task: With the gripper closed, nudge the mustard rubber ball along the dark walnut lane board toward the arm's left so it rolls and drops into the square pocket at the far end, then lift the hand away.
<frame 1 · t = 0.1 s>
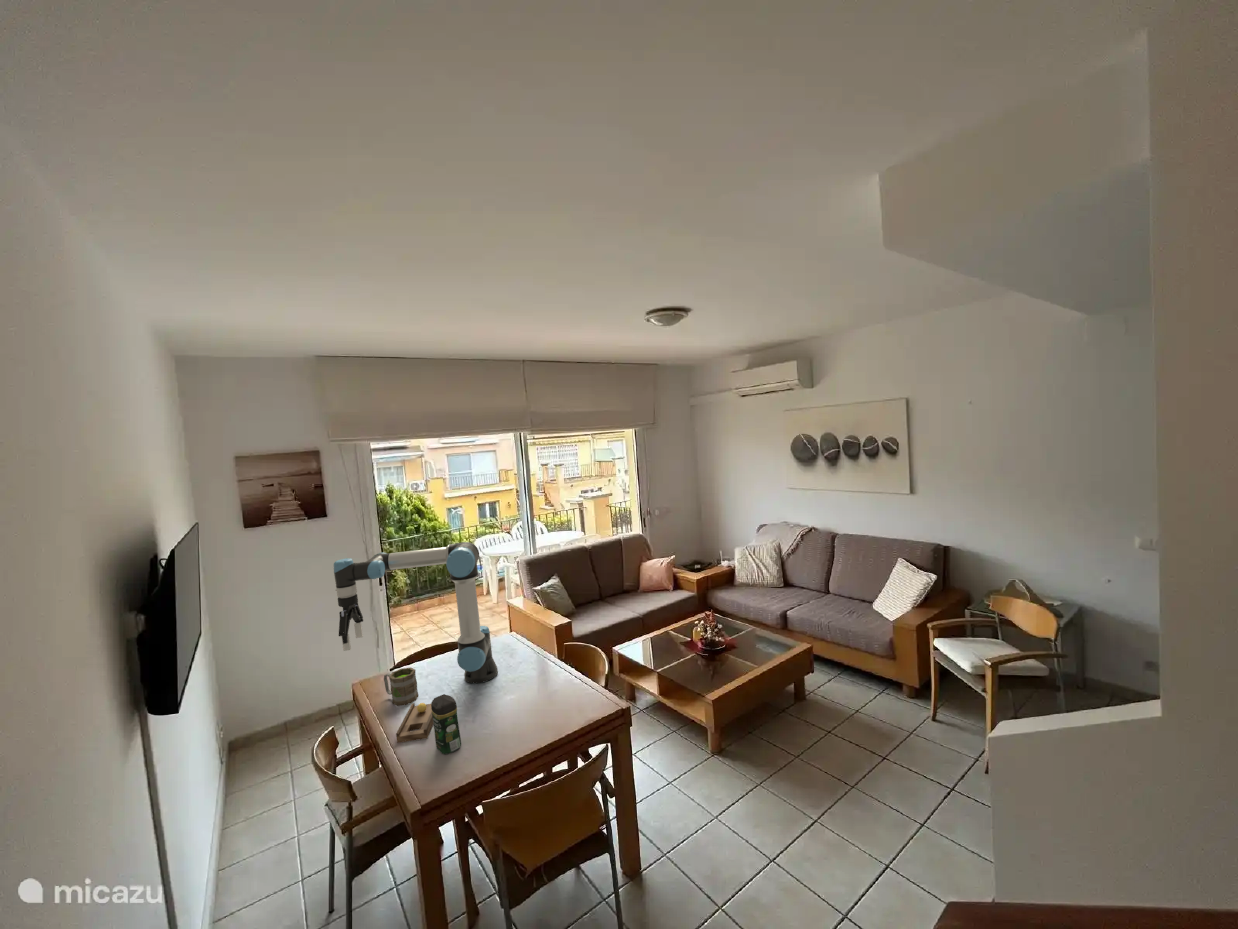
hand: (353, 643, 225), 28 cm above the table, fingers open, 13 cm apart
mug: (401, 699, 230), on the table
coffee jar: (448, 748, 191), on the table
ball: (421, 707, 212), point 4 cm above the table, touching lane board
lane board: (419, 724, 208), on the table
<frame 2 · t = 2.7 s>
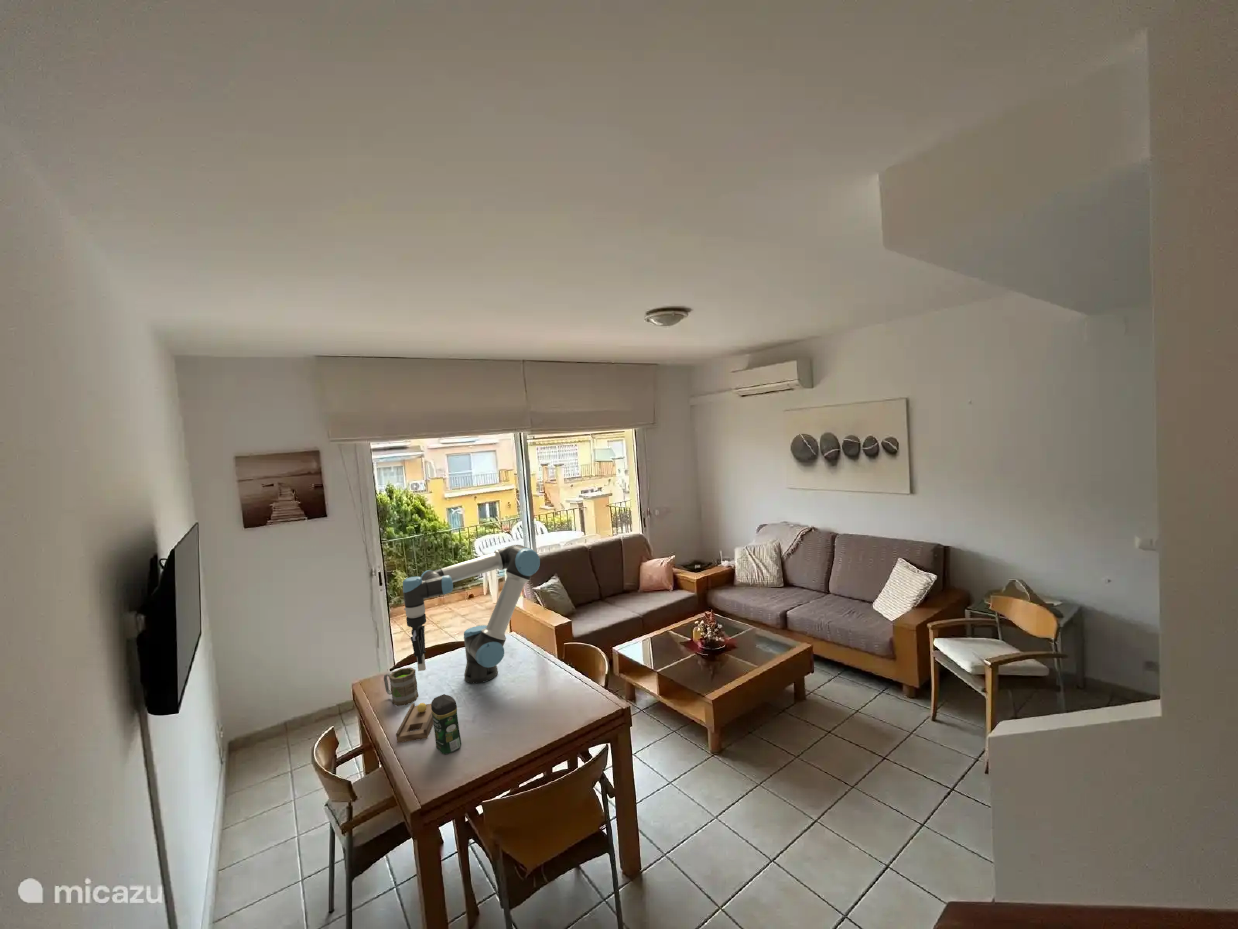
hand: (422, 670, 218), 17 cm above the table, fingers closed
nothing on the table moved.
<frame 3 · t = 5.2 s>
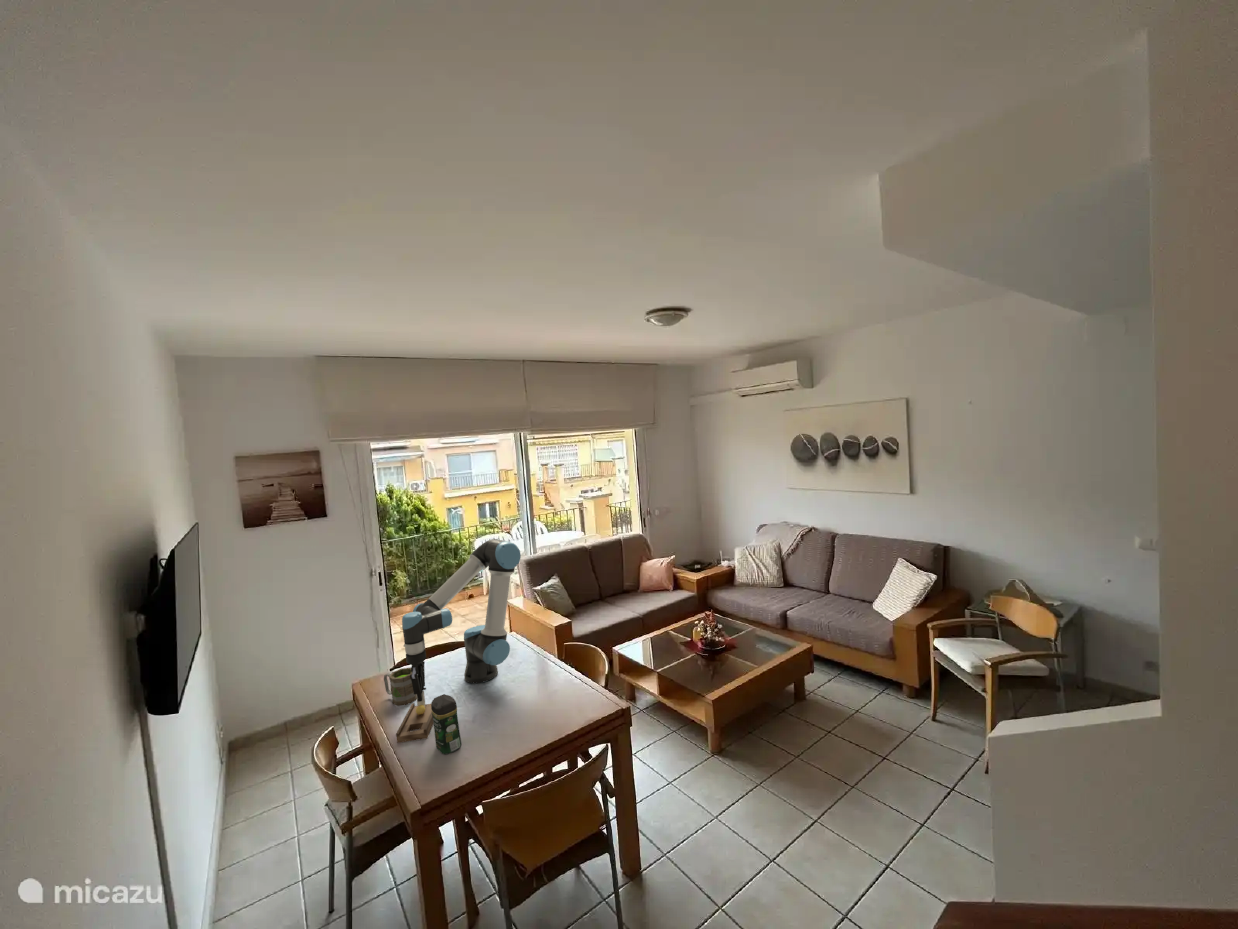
hand: (421, 707, 213), 4 cm above the table, fingers closed
ball: (420, 710, 211), point 4 cm above the table, tilted 50°, touching lane board
everything else where it was.
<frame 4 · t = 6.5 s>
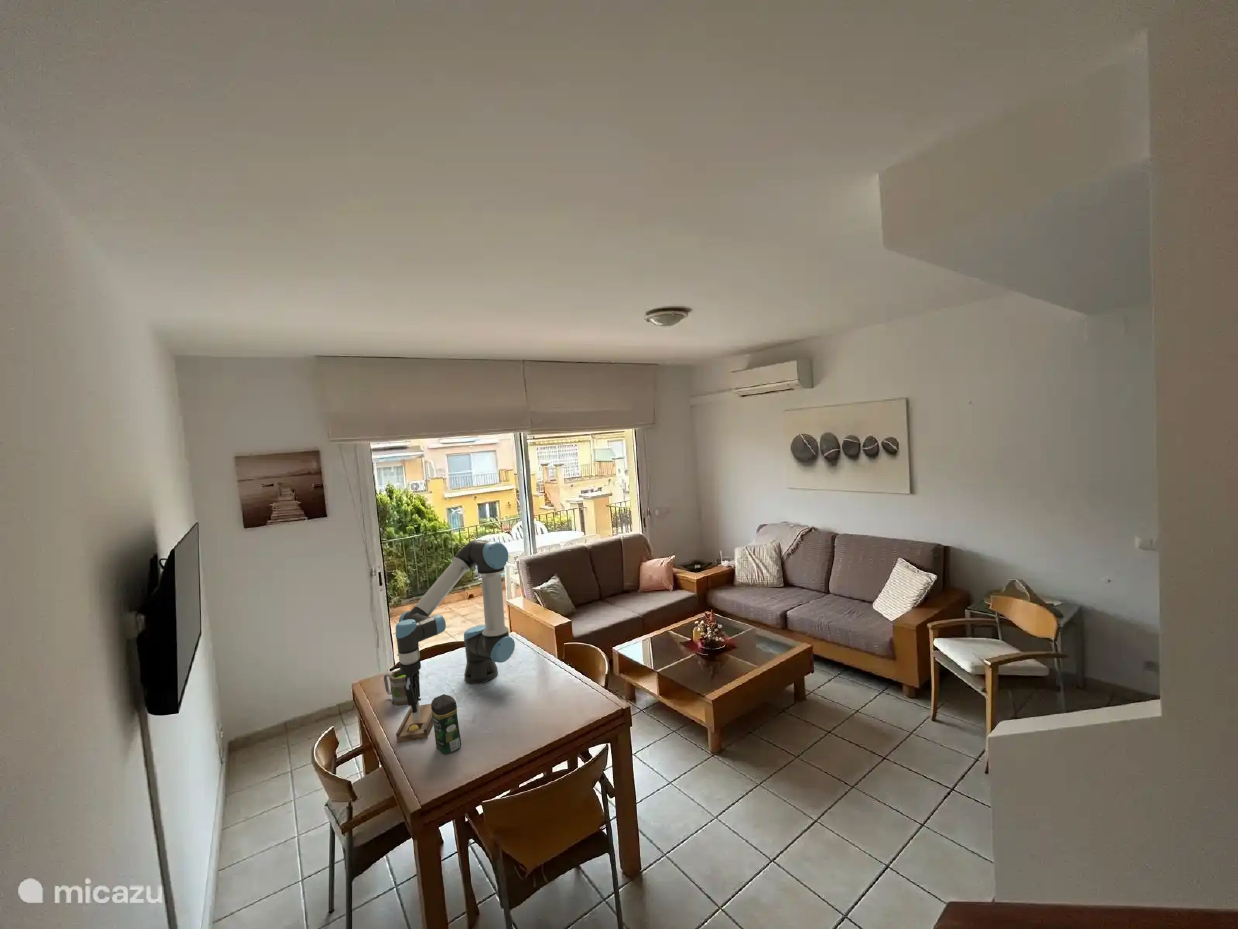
hand: (416, 718, 205), 4 cm above the table, fingers closed
ball: (413, 729, 201), point 2 cm above the table, tilted 36°
everything else where it was.
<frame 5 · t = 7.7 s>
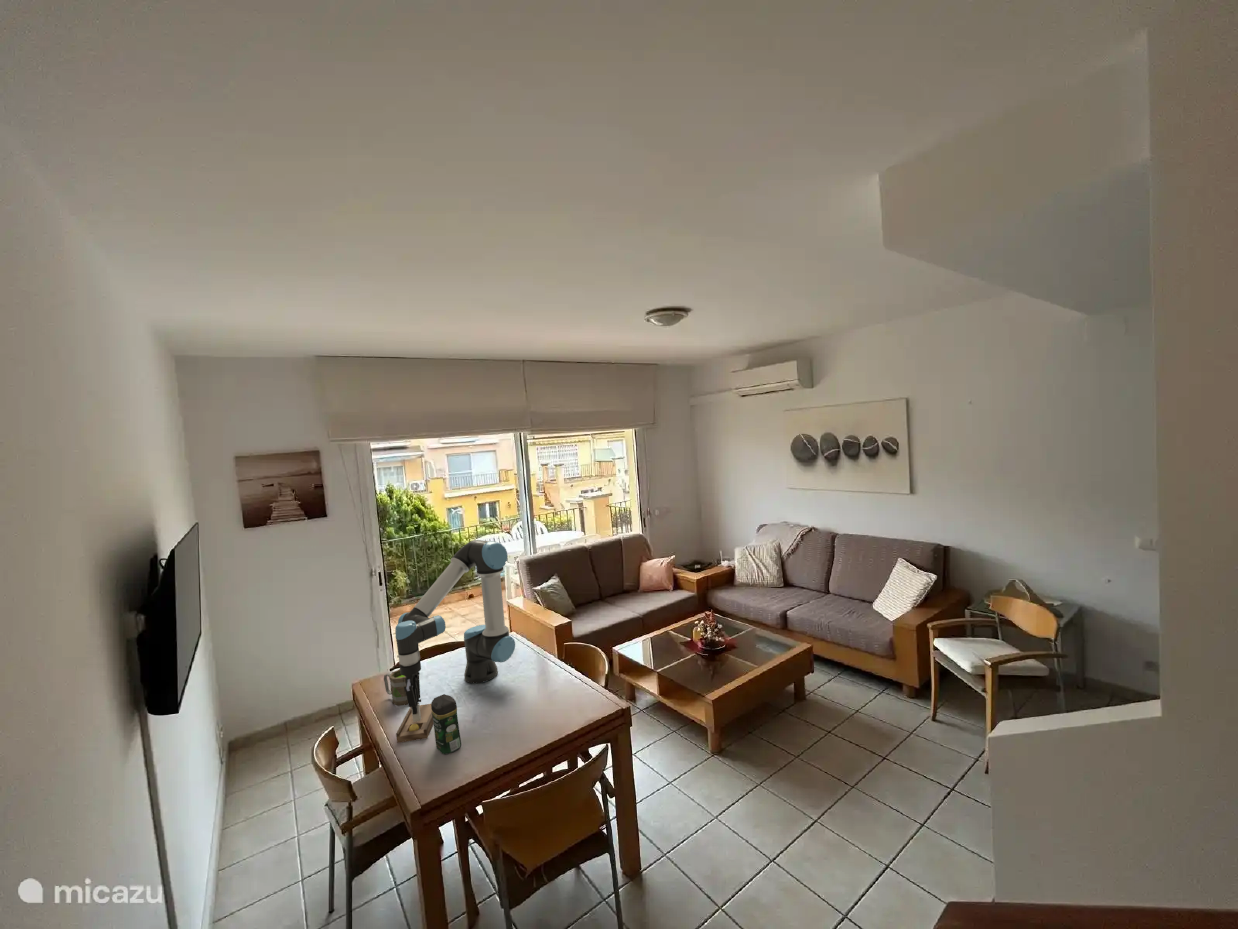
hand: (417, 720, 205), 3 cm above the table, fingers closed
ball: (414, 729, 202), point 2 cm above the table, tilted 21°
everything else where it was.
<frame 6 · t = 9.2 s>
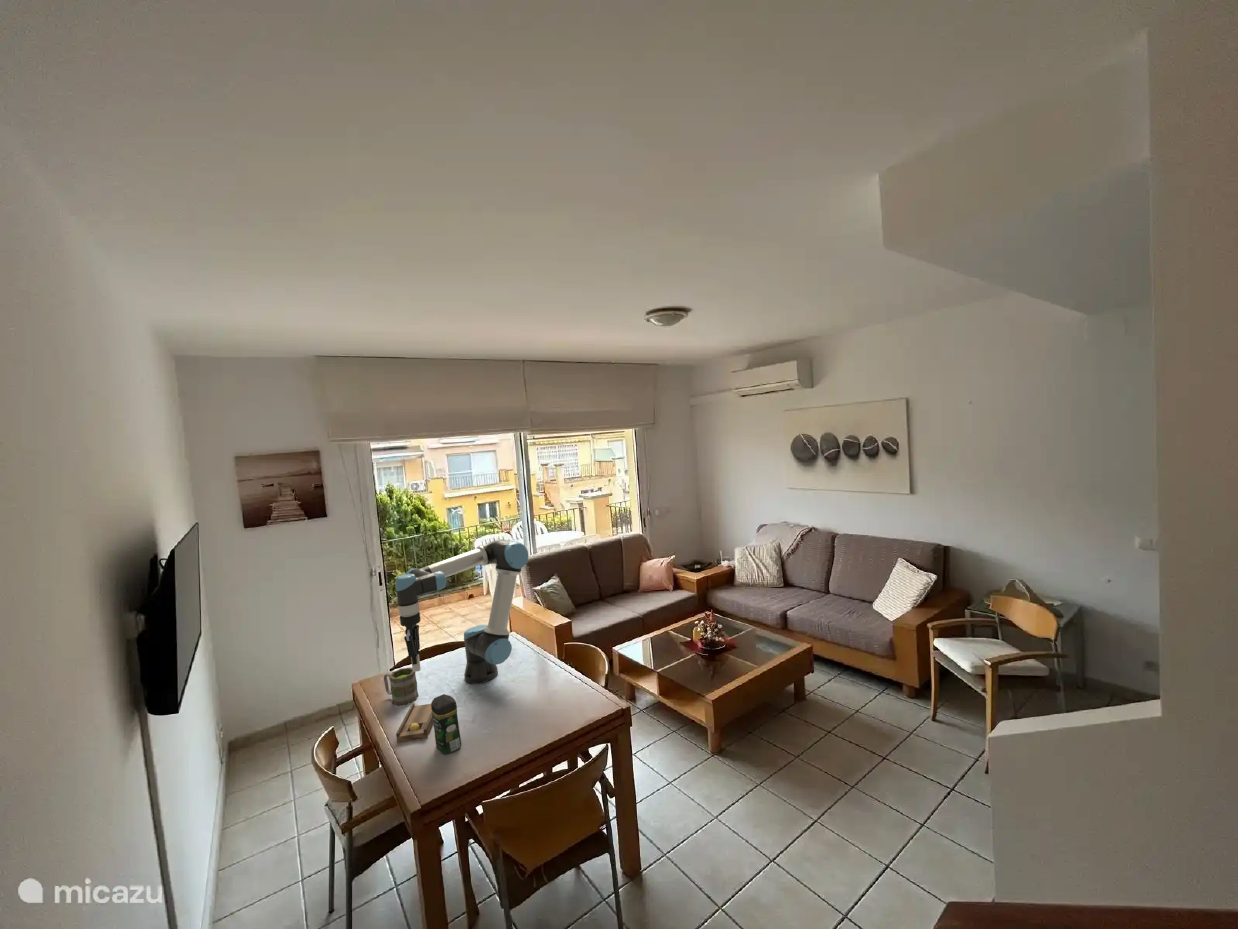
hand: (416, 670, 210), 20 cm above the table, fingers closed
ball: (414, 728, 202), point 2 cm above the table
everything else where it was.
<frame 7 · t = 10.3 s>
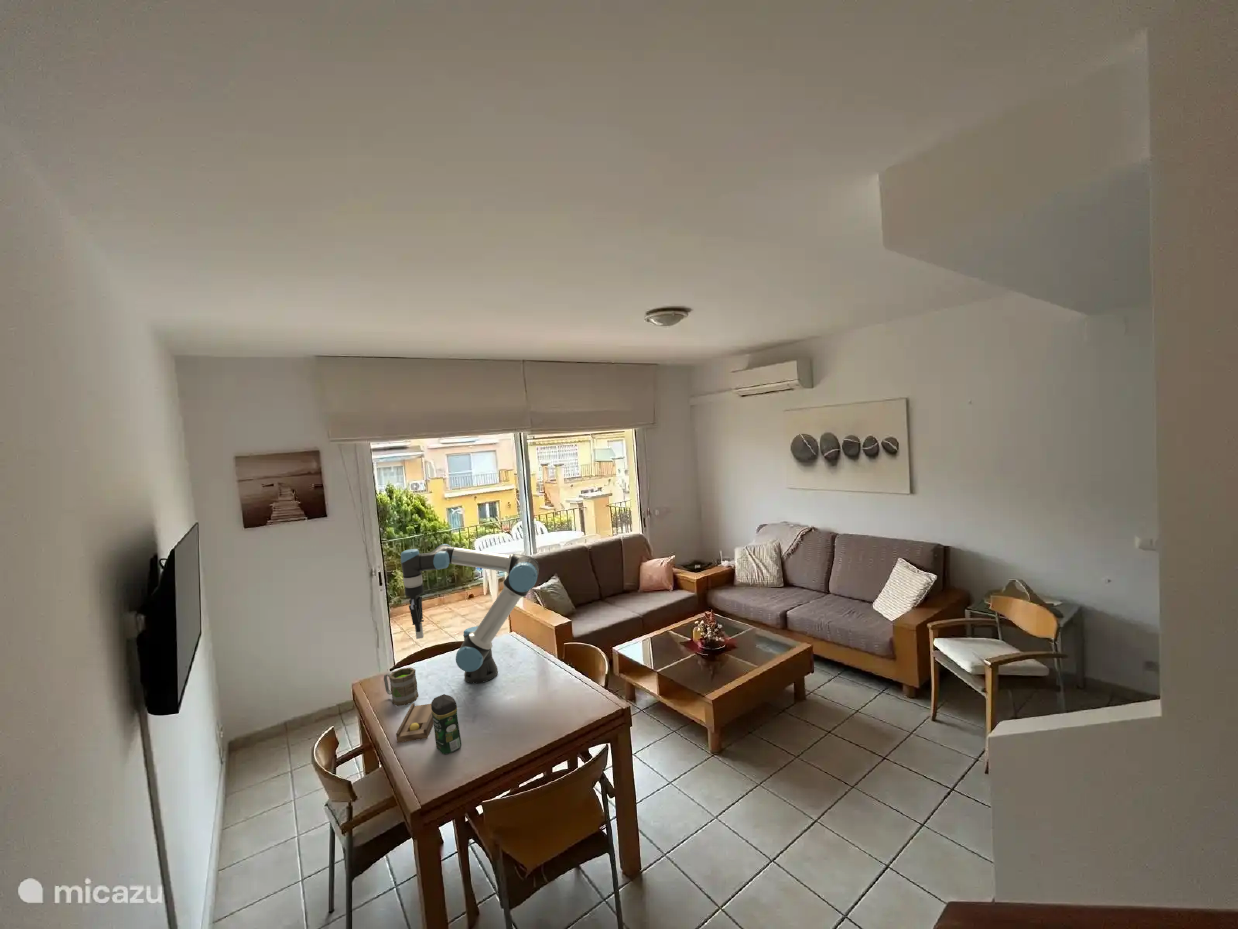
hand: (420, 637, 229), 26 cm above the table, fingers closed
nothing on the table moved.
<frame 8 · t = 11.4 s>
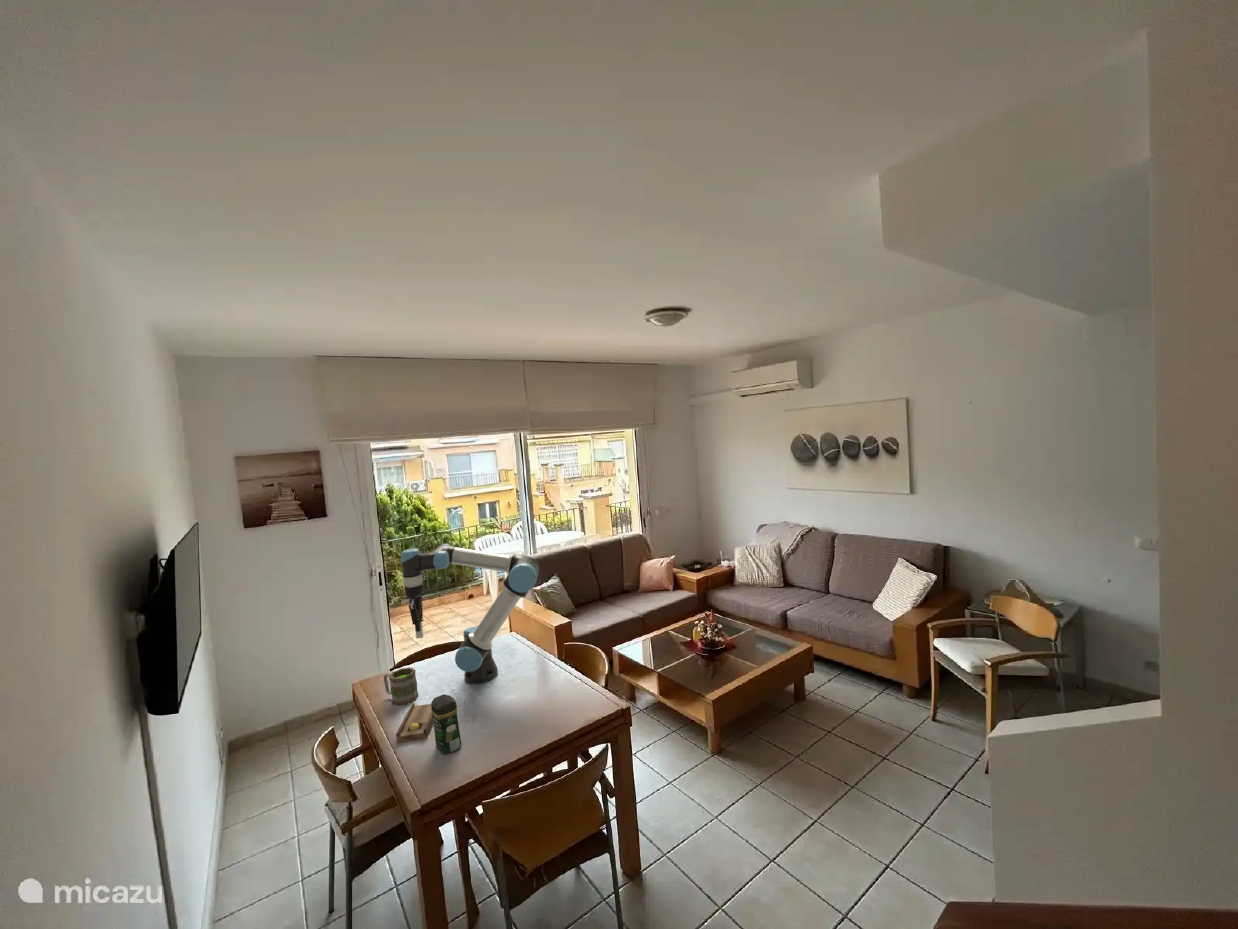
hand: (419, 637, 229), 26 cm above the table, fingers closed
nothing on the table moved.
at the end: ball 0.8 cm from the target spot on the lane board, point 1.8 cm above the lane board's base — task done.
